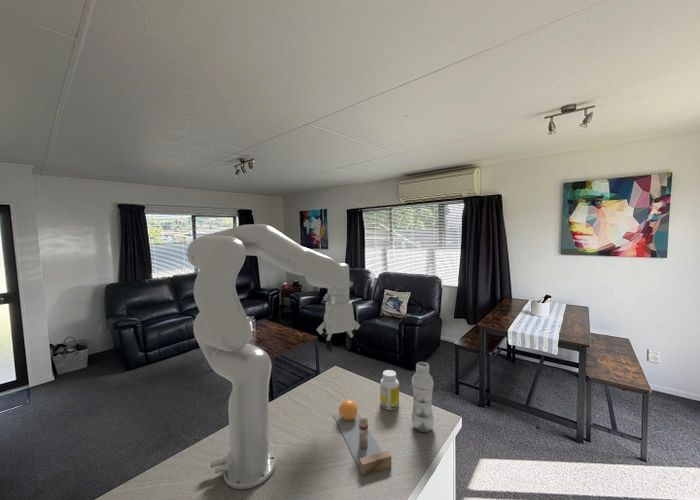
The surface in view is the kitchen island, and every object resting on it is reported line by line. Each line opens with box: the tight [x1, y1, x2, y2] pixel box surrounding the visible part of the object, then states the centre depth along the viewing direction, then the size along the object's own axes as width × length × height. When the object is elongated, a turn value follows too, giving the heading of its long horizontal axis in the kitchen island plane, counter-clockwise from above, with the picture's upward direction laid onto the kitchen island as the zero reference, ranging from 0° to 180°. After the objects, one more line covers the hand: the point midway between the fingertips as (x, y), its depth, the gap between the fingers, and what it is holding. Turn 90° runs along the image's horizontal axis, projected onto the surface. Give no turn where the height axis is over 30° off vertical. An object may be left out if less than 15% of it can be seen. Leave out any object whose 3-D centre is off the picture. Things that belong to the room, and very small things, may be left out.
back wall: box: [358, 450, 392, 477], centre depth 73 cm, size 8×2×3 cm, turn 110°
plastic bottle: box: [411, 361, 435, 433], centre depth 87 cm, size 6×7×20 cm
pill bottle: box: [379, 369, 400, 411], centre depth 99 cm, size 6×6×12 cm
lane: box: [333, 411, 383, 468], centre depth 85 cm, size 8×22×1 cm, turn 20°
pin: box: [359, 414, 369, 449], centre depth 80 cm, size 2×2×8 cm
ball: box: [338, 398, 359, 421], centre depth 92 cm, size 6×6×6 cm
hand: (339, 348), depth 100 cm, fingers open, 6 cm apart
